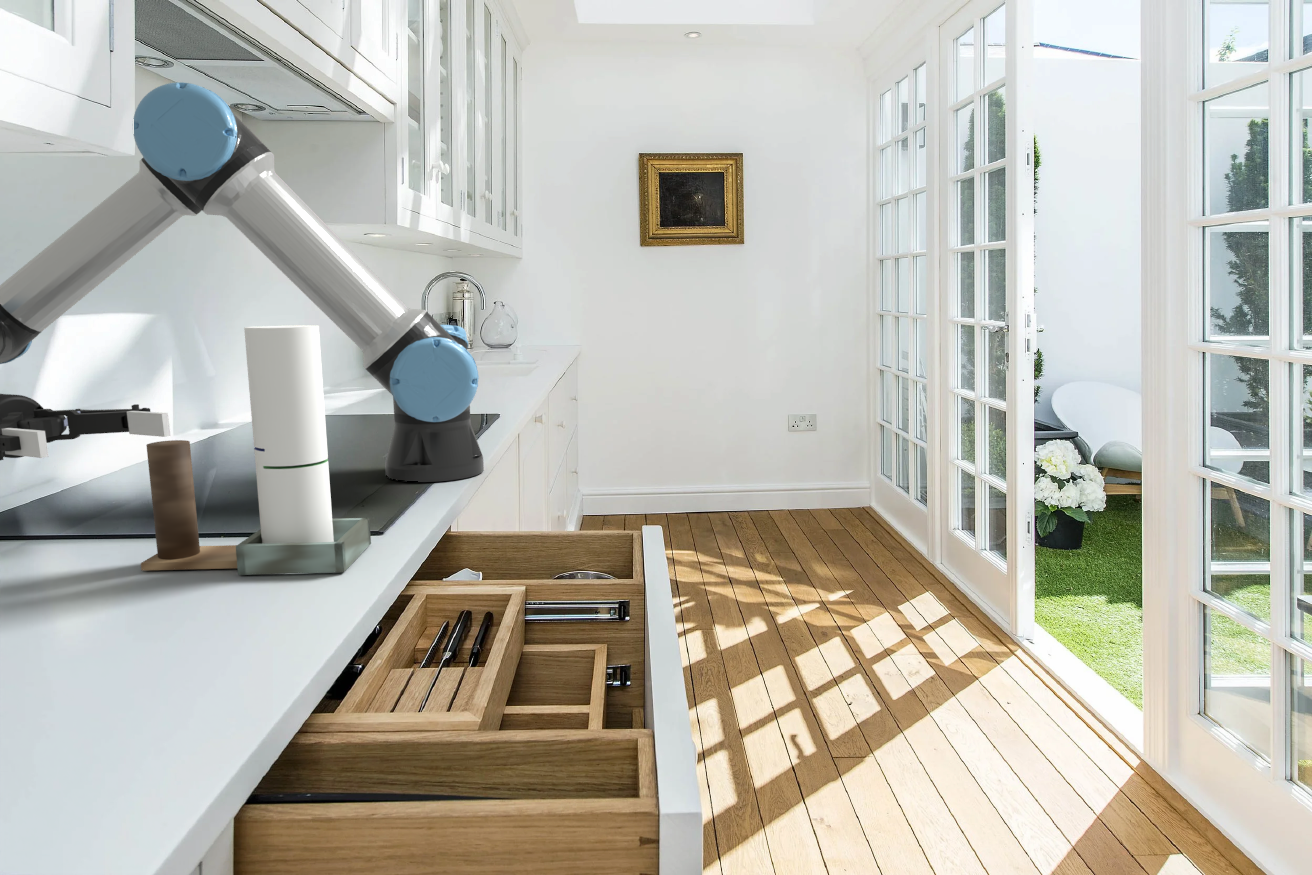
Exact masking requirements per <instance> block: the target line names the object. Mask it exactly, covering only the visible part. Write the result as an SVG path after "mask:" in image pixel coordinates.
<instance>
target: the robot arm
mask: <svg viewBox="0 0 1312 875" xmlns="http://www.w3.org/2000/svg"><path fill="white" fill-rule="evenodd" d="M133 114H134V116H133V119H134V134H133V139H134V142H135V145H136V146H137V149H138V151H139V153H140V154H141V155H142V158H140V160H139V161H138V162H139V171H138V172H137V173H135V174H134V176H132V177H131V178H130V179H128V180H127V181H126V182H125V183H124V184H122V185H121V186H120V187H118V189H116V190H115V191H114V192H113V193H111V194H110V195H109V196H108V197H106V198H105V199H104V200H103V201H101V202H100V203H98V205H96V206H95V207H94V208H93V209H92V210H90V211H89V212H88V213H87V214H85V215H84V216H83V217H82V218H81V219H79V220H78V221H77V222H76V223H75V224H73V225H72V226H71V227H69V228H68V229H67V230H66V231H64V233H62V234H61V235H60V236H59V237H57V238H56V239H55V240H53V242H51V243H50V244H48V246H47V247H45V248H44V249H42V250H41V251H40V252H39V253H38V254H37V255H35V256H34V257H33V258H31V260H29V261H28V262H26V264H24V265H23V266H22V267H21V268H19V269H18V270H17V271H16V272H14V273H13V274H12V275H11V276H10V277H8V278H7V279H6V280H5V281H3V282H2V283H1V284H0V365H2V364H8V363H10V362H13V361H15V360H16V359H18V358H20V357H23V355H24V354H26V353H28V351H29V349H30V348H31V346H32V343H33V341H34V339H36V338H37V337H38V336H39V335H40V334H41V333H42V332H43V331H44V330H46V328H48V327H49V326H51V325H52V324H53V323H54V322H56V321H57V319H59V318H60V317H62V316H63V315H64V314H65V313H66V312H68V310H70V309H71V308H72V307H74V306H75V305H76V304H77V303H79V301H81V300H82V299H84V298H85V297H86V296H87V295H88V294H89V293H90V292H92V291H93V290H94V289H96V288H97V287H98V286H99V285H101V284H102V283H103V282H104V281H105V280H107V278H109V277H110V276H111V275H112V274H114V273H115V272H117V270H120V268H121V267H123V265H125V264H126V263H127V262H129V261H130V260H131V259H133V257H134V256H136V255H137V254H139V252H140V251H142V250H143V249H144V248H146V247H147V246H148V245H149V244H150V243H152V242H153V241H155V239H156V238H158V237H159V236H160V235H161V234H162V233H164V232H165V231H166V230H168V229H169V228H170V227H171V226H172V225H174V224H175V223H176V222H178V220H180V219H181V218H182V217H183V216H191V217H193V216H194V217H195V216H197V215H199V213H201V212H203V213H204V214H206V215H207V216H222V217H224V218H226V219H227V220H228V221H229V222H230V223H231V224H232V225H234V227H235V228H236V229H237V230H239V231H240V233H241V234H243V236H245V237H246V238H247V239H248V240H249V241H250V243H252V244H253V245H254V246H255V247H256V248H257V249H258V251H260V252H261V253H262V254H263V255H264V256H265V257H266V258H267V259H268V260H269V261H270V262H271V263H273V265H274V266H275V267H276V268H277V269H278V270H279V271H281V272H282V274H284V275H285V276H286V278H287V279H288V280H290V281H291V283H292V284H294V285H295V286H296V287H297V288H298V289H299V290H300V291H301V292H302V293H303V294H304V295H305V296H306V297H307V298H308V299H309V300H310V301H311V302H312V303H313V304H314V305H315V306H316V307H317V308H319V310H320V311H321V312H322V313H323V314H324V315H325V316H327V317H328V318H329V319H330V320H331V322H332V323H334V324H335V325H336V326H337V327H338V329H340V330H341V332H343V333H344V334H345V335H346V336H347V337H348V338H349V339H350V340H351V341H352V342H353V343H354V344H355V345H356V346H357V347H358V348H359V349H360V350H361V352H362V355H363V357H362V360H363V364H362V365H363V369H364V370H366V371H367V372H368V373H369V374H370V375H371V376H372V377H373V378H374V379H375V380H376V381H377V382H378V383H379V384H380V385H381V386H382V387H384V389H385V390H386V391H387V392H388V393H389V394H391V396H392V399H393V401H392V402H393V416H394V417H393V418H394V419H393V420H394V422H393V423H394V429H393V433H392V436H391V439H390V442H389V445H388V446H389V447H388V449H387V450H388V451H387V454H386V458H385V462H384V463H385V464H384V466H385V467H384V469H385V476H386V475H387V476H388V477H389V478H388V477H387V478H388V479H390V478H393V479H397V480H396V481H398V480H405V481H404V482H407V481H418V482H417V483H436V482H448V481H456V480H462V479H466V478H471V477H475V476H477V475H479V474H482V473H483V472H484V471H485V470H484V469H485V466H484V456H483V453H482V450H481V448H480V445H479V442H478V440H477V437H476V435H475V431H474V429H473V427H472V422H471V406H470V405H471V403H472V401H474V398H475V397H476V394H477V390H478V387H479V379H480V377H479V371H478V366H477V364H476V361H475V359H474V357H473V355H472V353H470V352H469V351H468V350H469V340H468V337H467V332H466V330H465V328H463V327H462V326H458V325H451V324H440V323H439V322H438V321H437V320H436V319H435V318H434V317H433V316H432V315H431V314H430V313H429V312H428V311H427V310H426V309H421V308H411V307H410V308H409V307H408V306H407V305H406V304H405V303H404V302H403V301H402V300H401V299H400V298H399V297H398V296H397V295H396V294H395V293H394V292H393V291H392V290H391V289H390V288H389V287H388V285H386V283H384V281H382V279H380V277H378V276H377V275H376V273H375V272H373V270H371V268H370V267H368V265H367V264H366V263H365V262H363V260H362V259H360V257H359V256H358V255H357V254H356V253H355V252H354V251H353V250H352V249H351V248H350V247H349V246H348V245H347V244H346V243H345V242H344V241H343V240H342V239H341V238H340V237H339V236H338V235H337V234H336V233H335V232H334V231H333V230H332V228H330V227H329V226H328V224H326V223H325V222H324V221H323V220H322V219H321V217H319V216H318V214H316V213H315V211H314V210H313V209H312V208H311V207H310V206H309V205H308V204H307V203H306V202H305V201H304V200H303V199H302V198H301V197H300V196H299V195H298V194H297V193H296V192H295V191H294V190H293V189H292V188H291V187H290V186H289V185H288V184H287V183H286V182H285V180H283V179H282V178H281V177H280V176H279V175H278V174H277V173H276V168H275V154H274V153H273V152H272V151H271V150H270V149H269V148H268V147H267V146H266V144H264V142H262V140H260V139H259V138H258V137H257V136H256V135H255V134H254V132H252V130H251V129H250V128H248V126H247V125H245V124H244V122H243V121H242V120H240V118H239V117H238V116H237V115H236V114H235V113H234V112H233V111H232V109H231V108H230V106H229V105H228V103H227V102H226V101H225V100H224V99H223V98H222V97H221V96H219V95H218V94H217V93H216V92H214V91H212V90H211V89H207V88H205V87H203V86H200V85H198V84H194V83H191V82H190V83H189V82H183V81H182V82H181V81H180V82H178V81H177V82H169V83H165V84H162V85H160V86H157V87H155V88H154V89H152V90H150V91H149V92H148V93H147V94H145V96H143V98H142V99H141V101H140V102H139V103H138V105H137V107H136V108H135V111H134V113H133ZM67 427H68V433H65V434H63V433H64V432H65V431H66V430H67ZM116 433H129V435H137V436H149V437H160V438H161V437H162V438H163V437H164V438H166V437H167V438H168V437H171V428H170V421H169V412H159V411H158V412H157V411H151V408H150V407H142V408H140V404H132V405H131V408H118V409H117V408H111V409H81V408H75V409H59V410H58V409H57V410H56V409H55V410H53V409H51V408H44V407H43V406H42V405H41V404H40V403H39V402H38V401H37V400H35V399H33V398H32V397H31V398H30V397H29V396H26V395H21V394H9V393H0V461H4V458H6V459H7V458H8V459H20V458H23V457H29V458H39V459H44V458H49V451H48V449H49V448H48V444H49V443H52V442H55V441H67V440H75V439H78V438H80V437H81V436H82V435H84V436H85V435H97V434H98V435H99V434H116ZM393 479H392V480H393Z"/></svg>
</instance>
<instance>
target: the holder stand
mask: <svg viewBox="0 0 1312 875" xmlns="http://www.w3.org/2000/svg"><path fill="white" fill-rule="evenodd" d="M190 442H191V441H189V440H185V439H184V440H183V439H182V440H181V439H180V440H177V439H175V440H173V439H172V440H162V441H161V440H160V441H155V442H150V443H147V444H146V454H147V461H148V462H147V464H148V473H149V482H150V483H149V485H150V493H151V494H150V495H151V502H152V515H153V520H154V521H153V523H154V531H155V542H156V551H157V552H156V554H154V555H151V557H148V558H147V559H145V560H143V561H142V562H141V563H140V568H141V571H173V570H175V571H176V570H181V571H182V570H211V569H213V570H214V569H215V570H216V569H217V570H219V569H237V575H238V576H239V575H241V576H243V575H244V576H245V575H246V576H247V575H278V574H279V575H280V574H281V575H283V574H289V575H291V574H292V575H293V574H325V573H332V574H333V573H345V572H346V571H347V570H348V568H349V567H350V566H351V565H352V564H354V562H356V561H357V559H358V558H359V557H360V556H361V554H362V553H364V552H365V551H366V549H368V547H370V545H371V544H372V536H371V520H370V517H357V518H356V517H353V518H352V517H351V518H349V517H347V518H332V523H333V537H334V542H307V543H263V544H262V537H261V528H260V529H259V530H256V532H254V533H253V534H252V535H250V536H248V537H247V538H246V539H244V540H243V541H241V542H239V543H238V544H235V545H234V544H233V545H231V544H228V545H225V544H224V545H200V536H199V527H198V515H197V505H196V494H195V483H194V475H193V474H194V473H193V463H192V453H191V443H190Z"/></svg>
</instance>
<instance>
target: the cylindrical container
mask: <svg viewBox="0 0 1312 875" xmlns="http://www.w3.org/2000/svg"><path fill="white" fill-rule="evenodd" d="M243 329H244V330H243V331H244V338H245V339H244V340H245V353H246V366H247V377H248V378H247V380H248V390H249V391H248V392H249V402H250V416H251V423H252V425H251V426H252V428H251V429H252V437H253V438H252V439H253V447H254V448H253V450H254V462H255V474H256V476H255V477H256V487H257V499H258V501H257V502H258V510H259V523H260V529H261V537H262V544H263V543H307V542H334V537H333V523H332V519H333V512H332V498H331V496H332V495H331V484H330V483H331V482H330V469H329V468H330V466H329V459H328V458H329V455H328V454H329V453H328V438H327V424H326V423H327V422H326V410H325V408H326V407H325V394H324V379H323V367H322V366H323V365H322V354H321V353H322V352H321V337H320V336H321V335H320V325H314V324H313V325H312V324H309V325H308V324H305V325H303V324H299V325H294V324H291V325H290V324H288V325H287V324H286V325H285V324H283V325H260V326H259V325H257V326H256V325H255V326H245V327H244V328H243Z"/></svg>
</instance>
